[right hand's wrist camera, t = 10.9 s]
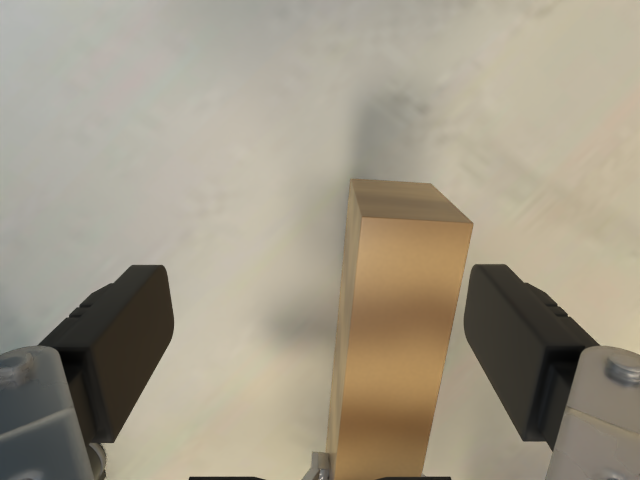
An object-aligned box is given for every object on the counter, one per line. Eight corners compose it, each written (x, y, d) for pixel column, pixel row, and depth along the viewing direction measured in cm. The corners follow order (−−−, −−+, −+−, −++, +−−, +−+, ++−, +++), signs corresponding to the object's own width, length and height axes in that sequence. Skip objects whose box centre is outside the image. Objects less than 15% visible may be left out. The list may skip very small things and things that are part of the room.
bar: (350, 178, 29) (361, 216, 21) (431, 183, 29) (474, 223, 21) (324, 459, 38) (325, 560, 30) (386, 462, 38) (403, 564, 30)
